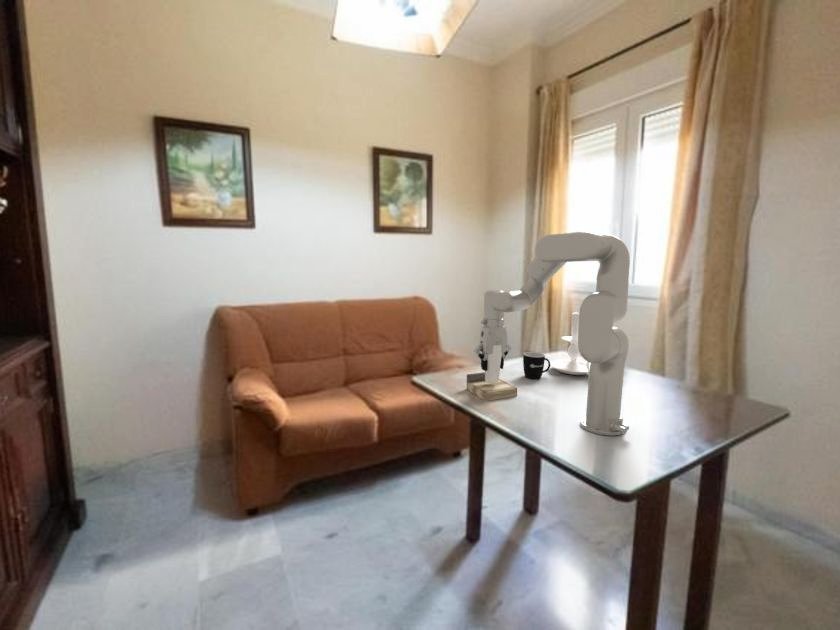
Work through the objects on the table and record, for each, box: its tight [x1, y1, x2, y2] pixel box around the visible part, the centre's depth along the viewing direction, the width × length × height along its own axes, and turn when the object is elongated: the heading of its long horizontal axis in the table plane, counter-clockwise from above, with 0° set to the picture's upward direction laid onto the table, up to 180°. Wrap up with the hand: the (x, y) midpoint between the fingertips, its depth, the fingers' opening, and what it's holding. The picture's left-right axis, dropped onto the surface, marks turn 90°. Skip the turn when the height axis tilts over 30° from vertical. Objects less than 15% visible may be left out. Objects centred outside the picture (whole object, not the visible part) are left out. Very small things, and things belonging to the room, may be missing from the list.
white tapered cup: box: [484, 345, 502, 383], centre depth 155 cm, size 7×7×15 cm
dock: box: [466, 371, 518, 402], centre depth 156 cm, size 14×14×6 cm
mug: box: [522, 351, 551, 380], centre depth 176 cm, size 12×9×10 cm
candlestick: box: [550, 311, 591, 376], centre depth 180 cm, size 21×25×28 cm
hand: (492, 368), depth 155 cm, fingers closed on white tapered cup, 6 cm apart
